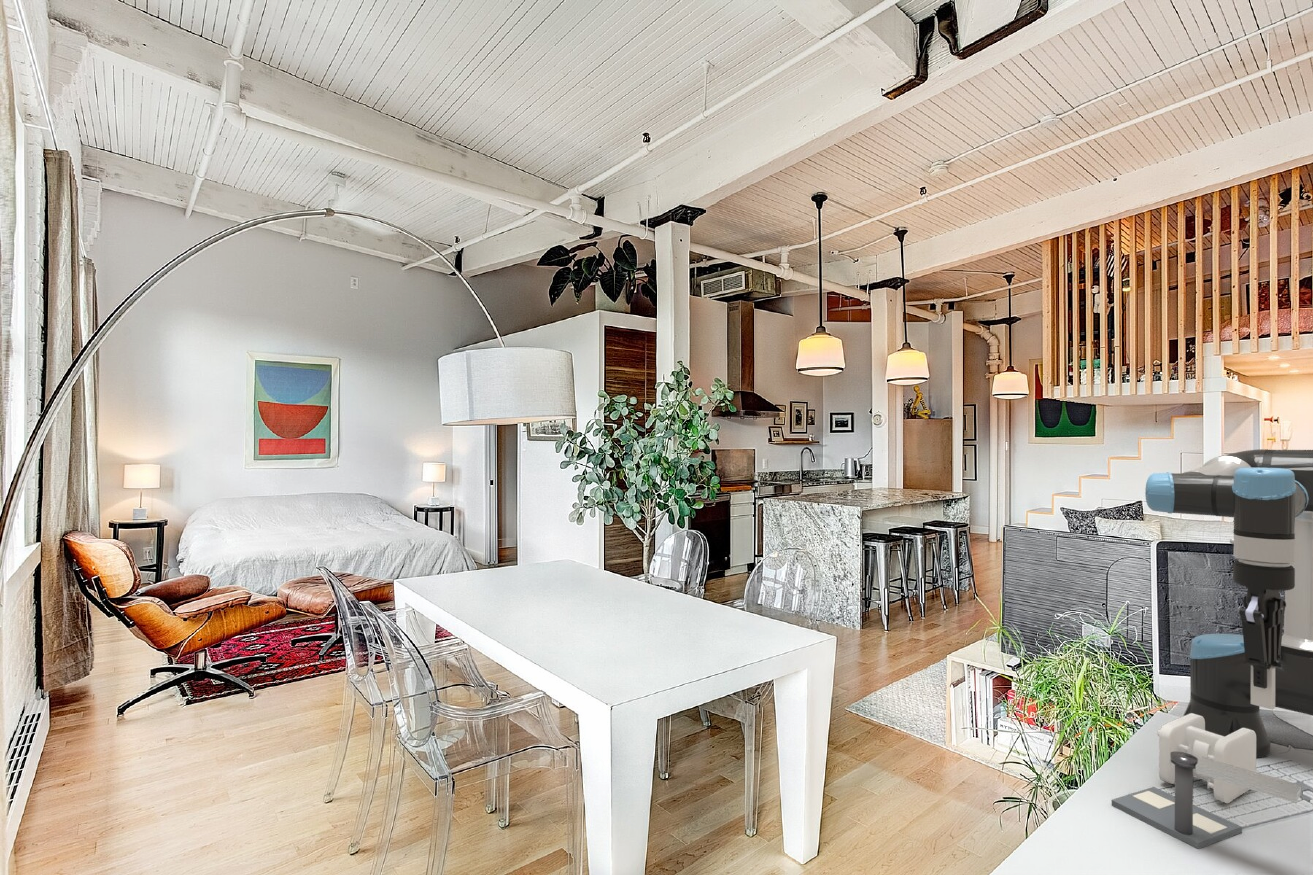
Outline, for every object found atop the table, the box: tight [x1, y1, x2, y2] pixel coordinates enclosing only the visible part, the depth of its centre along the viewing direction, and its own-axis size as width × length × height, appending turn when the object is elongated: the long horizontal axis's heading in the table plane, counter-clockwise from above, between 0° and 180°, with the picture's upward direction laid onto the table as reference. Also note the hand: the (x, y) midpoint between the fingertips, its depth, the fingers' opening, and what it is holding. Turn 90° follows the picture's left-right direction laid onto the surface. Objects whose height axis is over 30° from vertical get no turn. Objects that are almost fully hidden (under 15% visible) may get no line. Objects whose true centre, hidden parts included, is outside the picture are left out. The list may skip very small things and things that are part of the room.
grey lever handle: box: [1170, 751, 1302, 804], centre depth 108 cm, size 16×5×1 cm, turn 40°
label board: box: [1111, 765, 1243, 850], centre depth 118 cm, size 12×14×12 cm
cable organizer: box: [1157, 713, 1257, 804], centre depth 129 cm, size 15×11×12 cm
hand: (1262, 705), depth 110 cm, fingers closed
